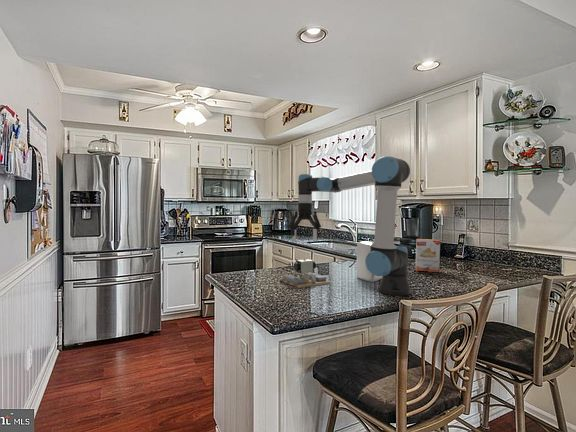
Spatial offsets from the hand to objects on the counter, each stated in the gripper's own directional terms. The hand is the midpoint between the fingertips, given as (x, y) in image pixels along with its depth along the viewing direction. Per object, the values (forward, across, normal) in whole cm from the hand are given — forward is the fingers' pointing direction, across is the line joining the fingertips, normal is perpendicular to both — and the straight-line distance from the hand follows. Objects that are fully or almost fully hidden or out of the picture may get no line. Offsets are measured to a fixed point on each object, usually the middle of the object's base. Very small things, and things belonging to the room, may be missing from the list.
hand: (304, 241), depth 189 cm
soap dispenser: (+23, -37, +11) cm, 45 cm away
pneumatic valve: (+22, 0, 0) cm, 22 cm away
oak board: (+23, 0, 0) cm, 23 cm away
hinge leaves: (+21, 0, 0) cm, 21 cm away
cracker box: (+23, -86, +14) cm, 90 cm away
